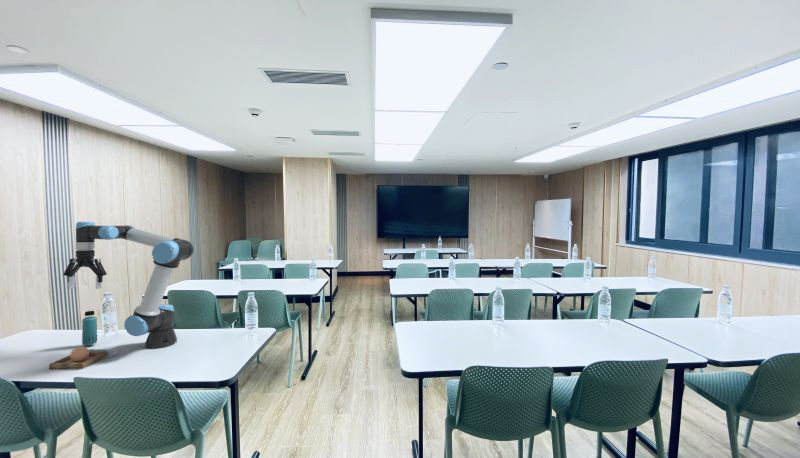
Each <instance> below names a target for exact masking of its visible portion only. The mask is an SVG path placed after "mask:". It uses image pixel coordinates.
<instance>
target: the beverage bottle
mask: <svg viewBox="0 0 800 458" xmlns="http://www.w3.org/2000/svg"><path fill="white" fill-rule="evenodd" d="M94 315H95V311H94V310H87V311H85V312H84V316H85V317H84V318H83V319H82V320H81V321H82V323H81V325H82V327H81V328H82V330H81V333H82V334H81V338H82V339H81V343H82V346H91V345H94V344H97V342H98V321H97V319H98V318H97V317H96V316H94Z"/></svg>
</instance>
